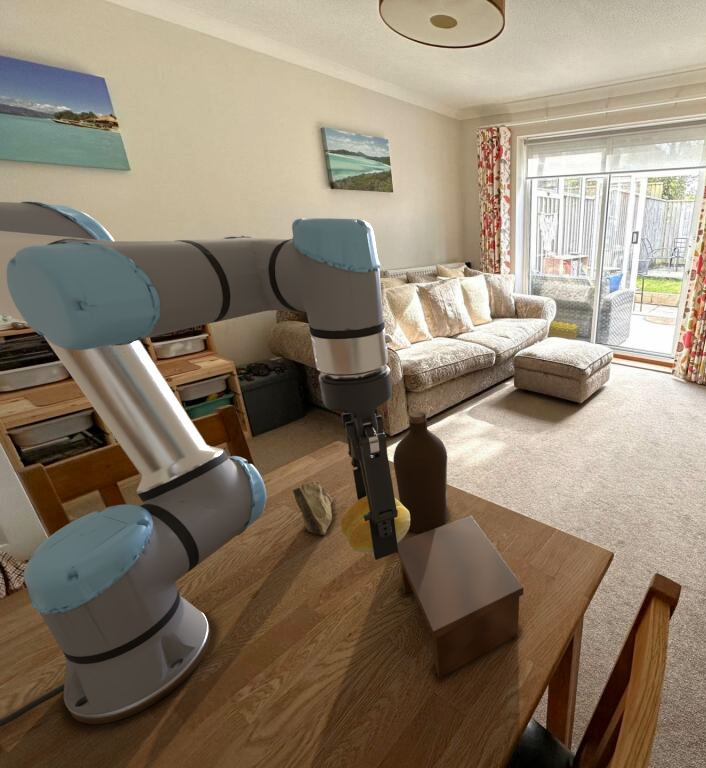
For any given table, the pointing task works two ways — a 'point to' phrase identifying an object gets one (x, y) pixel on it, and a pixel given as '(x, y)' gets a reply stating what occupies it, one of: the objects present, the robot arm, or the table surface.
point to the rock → (314, 506)
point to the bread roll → (360, 529)
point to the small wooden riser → (460, 591)
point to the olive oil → (422, 475)
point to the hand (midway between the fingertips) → (377, 529)
